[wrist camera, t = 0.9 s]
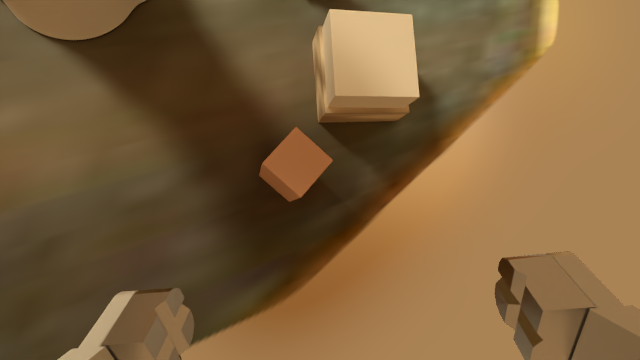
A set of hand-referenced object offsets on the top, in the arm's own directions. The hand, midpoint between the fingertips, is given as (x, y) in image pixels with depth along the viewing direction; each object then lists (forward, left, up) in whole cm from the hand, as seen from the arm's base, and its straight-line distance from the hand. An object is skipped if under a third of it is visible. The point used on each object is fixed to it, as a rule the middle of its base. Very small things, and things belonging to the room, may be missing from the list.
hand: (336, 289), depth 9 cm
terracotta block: (-7, +3, -34) cm, 35 cm away
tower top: (-19, +13, -30) cm, 38 cm away
